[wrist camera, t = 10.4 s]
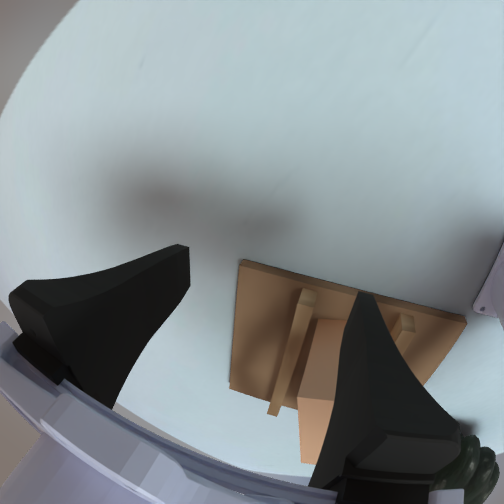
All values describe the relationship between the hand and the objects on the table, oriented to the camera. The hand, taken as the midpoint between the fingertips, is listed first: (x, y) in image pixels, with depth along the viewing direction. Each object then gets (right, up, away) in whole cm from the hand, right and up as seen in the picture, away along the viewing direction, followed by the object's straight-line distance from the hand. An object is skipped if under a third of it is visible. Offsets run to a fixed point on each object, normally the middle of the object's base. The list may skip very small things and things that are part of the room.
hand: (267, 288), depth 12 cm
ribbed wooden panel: (+7, -9, +15) cm, 19 cm away
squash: (+27, -25, +16) cm, 40 cm away
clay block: (+7, -9, +14) cm, 18 cm away
